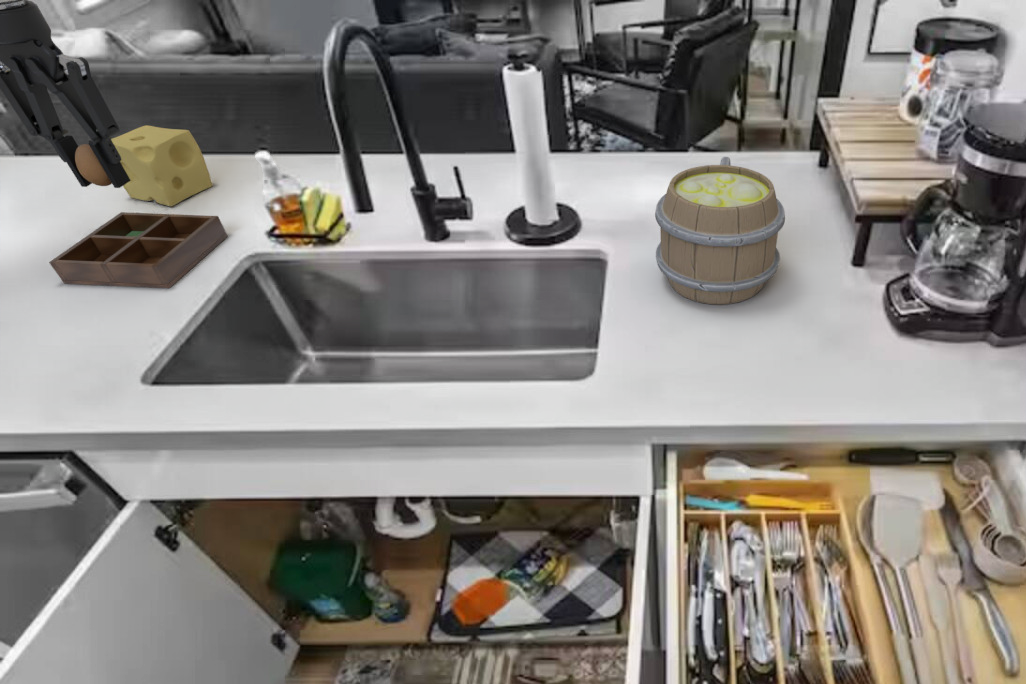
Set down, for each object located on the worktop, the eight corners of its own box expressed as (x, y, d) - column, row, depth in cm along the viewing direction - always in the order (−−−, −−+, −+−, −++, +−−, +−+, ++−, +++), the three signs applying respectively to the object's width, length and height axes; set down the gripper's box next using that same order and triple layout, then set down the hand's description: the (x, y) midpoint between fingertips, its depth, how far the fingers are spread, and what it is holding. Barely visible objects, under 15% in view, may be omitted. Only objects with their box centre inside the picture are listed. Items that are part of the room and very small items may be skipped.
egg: (112, 191, 100) (88, 150, 96) (83, 191, 100) (57, 150, 96) (130, 179, 103) (107, 139, 99) (101, 179, 103) (77, 139, 99)
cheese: (172, 208, 119) (141, 150, 112) (126, 198, 121) (92, 141, 114) (218, 185, 126) (191, 129, 119) (173, 176, 128) (145, 121, 121)
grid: (64, 283, 100) (48, 262, 98) (133, 232, 112) (121, 212, 109) (169, 288, 100) (156, 266, 97) (228, 236, 111) (217, 215, 109)
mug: (776, 236, 113) (787, 145, 103) (776, 317, 96) (790, 217, 86) (667, 229, 115) (667, 139, 104) (648, 308, 97) (646, 209, 87)
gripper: (84, -2, 88) (176, 175, 104) (-43, -5, 88) (68, 171, 105) (42, 11, 82) (146, 196, 99) (-93, 8, 83) (33, 192, 99)
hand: (106, 183), depth 102 cm, fingers closed on egg, 4 cm apart
